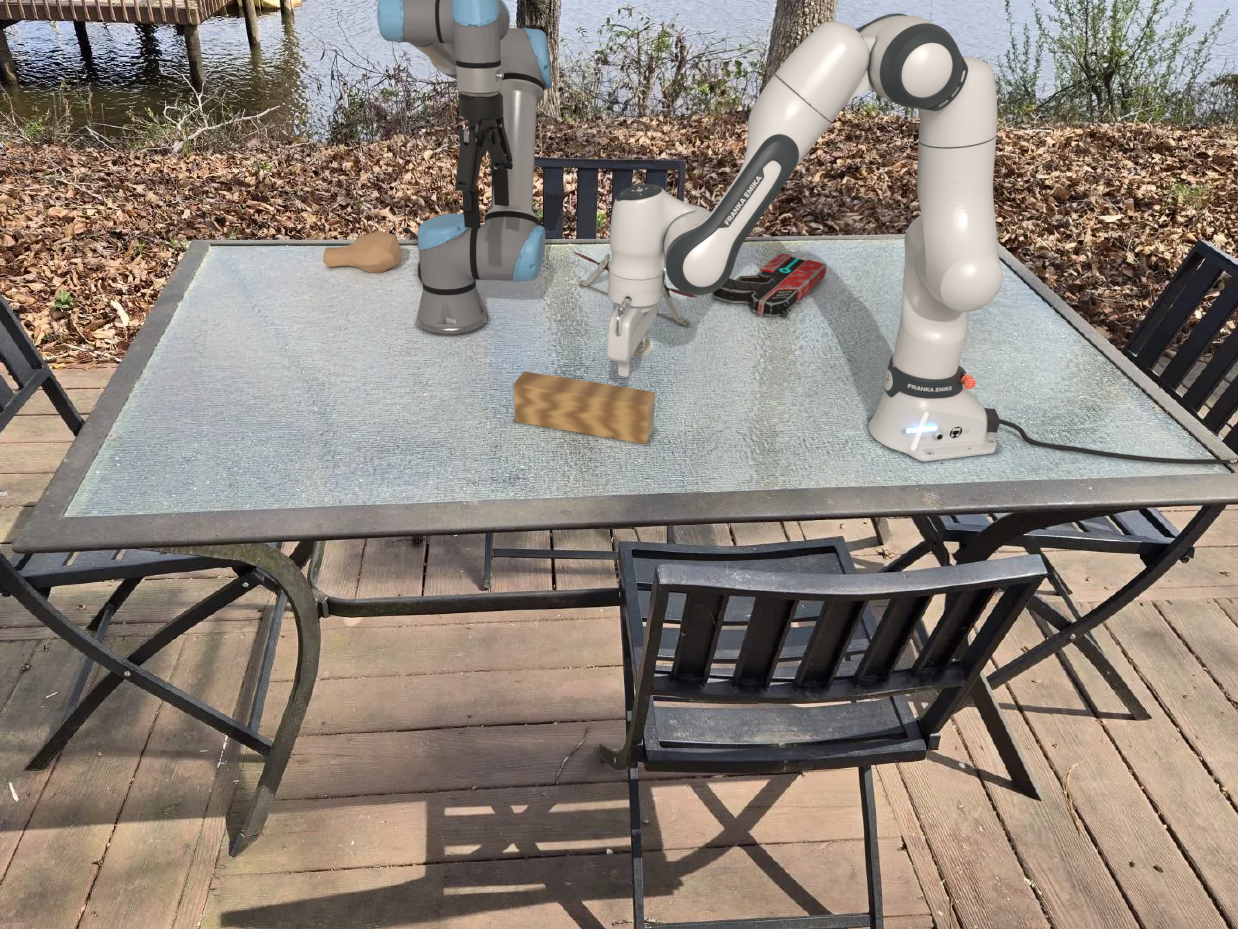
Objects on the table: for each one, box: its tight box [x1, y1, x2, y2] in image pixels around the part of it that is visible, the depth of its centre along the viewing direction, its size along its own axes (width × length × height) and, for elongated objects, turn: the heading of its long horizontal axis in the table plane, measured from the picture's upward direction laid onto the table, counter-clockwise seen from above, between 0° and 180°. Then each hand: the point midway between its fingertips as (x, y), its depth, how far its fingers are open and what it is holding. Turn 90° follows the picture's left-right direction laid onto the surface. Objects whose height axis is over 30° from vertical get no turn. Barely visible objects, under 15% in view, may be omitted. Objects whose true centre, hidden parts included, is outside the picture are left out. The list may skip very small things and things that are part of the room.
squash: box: [322, 230, 403, 273], centre depth 220 cm, size 11×20×9 cm, turn 90°
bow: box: [573, 251, 698, 326], centre depth 205 cm, size 39×2×10 cm, turn 47°
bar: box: [513, 370, 656, 445], centre depth 159 cm, size 25×5×8 cm, turn 74°
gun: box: [711, 252, 827, 318], centre depth 215 cm, size 4×31×19 cm
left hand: (487, 216), depth 160 cm, fingers open, 13 cm apart
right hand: (631, 362), depth 151 cm, fingers open, 8 cm apart
